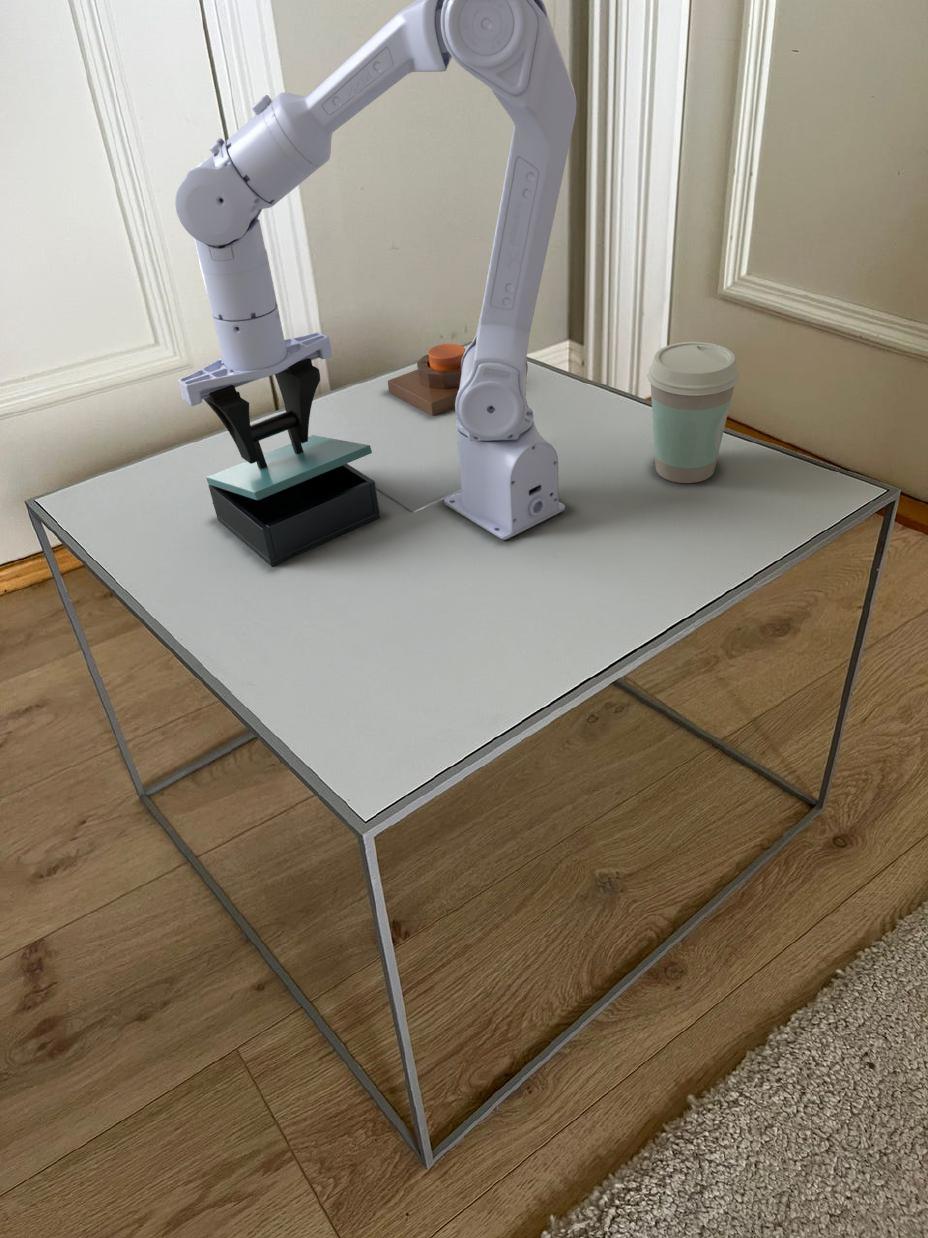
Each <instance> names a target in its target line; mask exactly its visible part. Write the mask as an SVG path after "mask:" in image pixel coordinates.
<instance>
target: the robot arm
mask: <svg viewBox="0 0 928 1238" xmlns="http://www.w3.org/2000/svg"><path fill="white" fill-rule="evenodd" d="M452 59H453V60H454V62H456V63H457V64H458V65H459V66H460V67H461V68H462V69H463V70H465V71H466V72H467V73H469V74H470V75H471V76H473V77H474V78H475V79H477V80H479V82H481V83H483V84H484V85H485V86H487V87H488V88H489V89H490V90H491V92H492V93H493V95H494V96H495V98H496V99H497V102H499V104H500V105H501V107H502V108H503V109H504V111H505V113H506V114H507V115H508V116H509V118H510V119H511V121H512V122H513V127H512V132H511V138H510V144H509V150H508V156H507V161H506V167H505V173H504V178H503V184H502V190H501V196H500V202H499V208H498V213H497V218H496V223H495V230H494V236H493V241H492V246H491V253H490V259H489V264H488V270H487V275H486V282H485V287H484V292H483V298H482V303H481V310H480V313H479V318H478V324H477V329H476V333H475V335H474V338H473V340H472V341H471V343H469V345H468V347H467V348H465V352H464V354H463V357H462V361H461V380H460V387H459V391H458V394H457V397H456V402H455V407H454V410H455V411H454V412H455V415H456V418H455V425H456V427H455V429H456V439H457V452H458V453H457V454H458V463H459V464H458V465H459V475H460V476H459V477H460V489H461V491H458V492H456V493H454V494H452V495H450V496H447V497H445V498H444V502H443V503H444V505H445V506H447V507H448V508H450V509H452V510H454V511H455V512H456V513H458V514H459V515H462V516H463V517H465V518H467V519H468V520H470V521H471V522H473V523H474V524H476V525H478V526H480V528H483V529H484V530H485V531H487V532H489V533H491V534H492V535H494V536H495V537H497V538H498V539H500V540H503V541H504V540H505V541H506V540H509V539H511V538H513V537H514V536H517V535H518V534H521V533H523V532H525V531H526V530H528V529H530V528H532V527H534V526H537V525H539V524H540V523H542V522H544V521H546V520H548V519H550V518H552V517H555V516H556V515H559V513H560V514H561V513H562V512H564V511H565V510H566V504H564V503H562V502H560V500H559V456H558V453H557V450H556V449H555V447H554V446H553V445H552V444H551V443H550V442H548V441H547V440H546V439H545V438H544V437H543V436H542V434H540V432H539V430H538V429H537V427H536V424H535V420H534V411H533V409H532V408H530V407H529V404H528V400H527V377H528V376H527V375H528V369H529V364H528V350H529V343H530V335H531V334H530V333H531V330H532V329H531V328H532V324H533V319H534V314H535V311H536V306H537V300H538V295H539V292H540V288H541V287H540V286H541V282H542V277H543V272H544V267H545V264H546V263H545V262H546V258H547V253H548V249H549V243H550V239H551V235H552V229H553V225H554V220H555V215H556V212H557V211H556V210H557V207H558V206H557V205H558V200H559V195H560V191H561V186H562V182H563V177H564V172H565V168H566V164H567V158H568V153H569V149H570V144H571V140H572V139H571V138H572V134H573V129H574V126H575V120H576V116H577V96H576V92H575V88H574V84H573V82H572V80H571V77H570V74H569V71H568V68H567V66H566V62H565V60H564V56H563V54H562V51H561V48H560V46H559V43H558V40H557V37H556V34H555V32H554V29H553V26H552V23H551V19H550V17H549V14H548V11H547V8H546V5H545V3H544V1H543V0H415V1H413V2H411V3H410V4H408V5H407V6H405V7H403V8H402V9H401V10H399V12H398V13H396V14H395V15H394V16H393V17H392V18H390V19H389V21H388V22H386V23H385V25H383V26H382V27H381V28H380V29H379V30H378V31H376V32H375V33H374V35H372V36H371V37H370V38H369V39H368V40H367V41H365V43H364V44H362V45H361V46H360V47H359V48H358V49H357V50H356V51H355V52H353V54H352V55H351V56H349V58H347V59H346V60H345V61H344V62H343V63H342V64H341V65H339V66H338V68H336V69H335V70H334V71H333V72H332V73H331V74H330V75H329V76H327V78H326V79H324V81H323V82H321V83H320V84H319V85H318V86H317V87H316V88H314V90H312V92H310V93H309V94H307V95H301V94H295V93H291V92H280V93H278V95H276V96H275V97H274V98H273V99H272V98H271V97H270V96H269V95H268V94H265V95H264V96H263V97H261V98H260V99H259V100H258V101H256V103H254V105H252V107H251V109H252V111H253V113H254V114H255V115H254V116H253V117H252V118H250V119H249V120H248V121H247V122H246V123H245V124H243V125H242V127H240V128H239V129H238V130H237V131H236V132H235V133H233V134H232V135H231V136H230V137H229V138H228V139H227V140H224V139H223V138H221V137H219V138H218V139H217V140H216V141H215V142H213V144H211V145H210V146H209V151H210V153H211V154H212V155H211V156H208V157H207V158H205V159H204V160H203V161H201V162H200V163H199V164H198V165H197V166H196V167H194V168H192V169H189V170H188V171H187V172H186V175H185V177H184V178H183V179H182V181H181V182H180V184H179V185H178V188H177V191H176V194H175V201H174V204H175V205H174V206H175V211H176V215H177V217H178V220H179V222H180V223H181V225H182V227H183V228H184V230H185V231H186V232H187V233H188V234H189V235H190V236H191V237H192V238H193V240H194V245H195V249H196V253H197V256H198V264H199V268H200V271H201V275H202V280H203V284H204V288H205V292H206V296H207V301H208V306H209V309H210V312H211V317H212V321H213V325H214V329H215V333H216V338H217V341H218V345H219V350H220V354H221V358H219V359H217V360H215V361H213V362H212V363H209V364H208V365H206V366H204V367H202V368H200V369H198V370H197V371H195V372H193V373H191V374H189V375H186V376H183V377H181V378H178V379H177V384H178V388H179V391H180V395H181V399H182V401H184V402H185V403H186V404H188V405H189V406H191V407H194V406H197V405H200V404H202V403H203V401H204V402H205V403H206V404H207V405H208V407H210V409H212V411H213V412H214V414H216V416H217V417H218V419H219V420H220V421H221V422H222V424H223V425H224V427H225V428H226V430H227V432H228V433H229V435H230V437H231V438H232V440H233V442H234V444H235V446H236V448H237V450H238V452H239V455H240V457H241V459H243V460H245V462H246V461H247V462H249V463H250V464H253V463H255V462H258V461H257V452H256V448H255V445H254V441H253V437H252V433H251V427H250V425H251V419H250V402H248V401H247V400H245V399H244V398H242V397H241V393H240V391H237V389H236V388H239V387H241V386H244V385H247V384H249V383H253V382H255V381H258V380H261V379H265V378H268V377H272V376H274V378H275V380H276V382H277V385H278V388H279V391H280V394H281V397H282V401H283V404H284V409H285V412H287V411H292V412H293V413H294V414H295V416H296V418H297V422H298V424H297V426H296V429H297V432H298V435H299V439H300V442H301V443H302V444H303V443H305V442H308V437H309V427H310V417H311V410H312V405H313V402H314V398H315V394H316V391H317V389H318V386H319V384H320V381H321V373H320V369H319V368H318V367H316V366H315V365H313V362H312V361H315V360H317V359H320V360H326V359H329V358H331V357H333V353H332V347H331V342H330V337H329V336H328V335H325V334H324V333H322V332H320V331H316V332H313V333H309V334H307V335H306V334H305V335H302V336H296V337H292V338H286V339H285V337H284V331H283V327H282V321H281V315H280V310H279V305H278V302H277V297H276V296H277V295H276V291H275V287H274V286H275V285H274V282H273V277H272V272H271V265H270V262H269V261H270V260H269V255H268V252H267V249H266V245H265V241H264V236H263V231H262V225H261V220H260V219H259V217H260V215H261V213H262V211H263V210H264V209H265V210H266V209H270V208H272V207H274V206H275V205H276V204H277V203H279V202H280V201H281V200H283V198H285V197H286V196H287V195H288V194H290V193H291V192H292V191H293V190H294V189H295V188H297V187H298V186H299V185H301V184H302V183H303V182H304V181H306V180H307V179H308V178H309V177H310V176H311V175H313V174H314V173H315V172H316V171H318V170H319V169H320V168H321V167H323V166H324V165H325V164H326V163H327V162H329V160H330V158H331V152H332V137H333V133H335V132H336V131H337V130H338V129H339V128H341V127H342V126H344V125H345V124H346V123H347V122H349V121H350V120H351V119H352V118H353V117H355V116H356V115H358V114H359V113H360V112H361V111H363V110H364V109H365V108H366V107H368V106H369V105H370V104H372V103H373V102H374V101H376V100H377V99H378V98H379V97H380V96H382V95H383V94H384V93H386V92H387V91H388V90H389V89H391V88H392V87H393V86H394V85H396V84H397V83H399V82H400V81H401V80H402V79H404V78H405V77H406V76H407V75H409V74H411V73H443V72H446V71H447V69H448V67H449V65H450V63H451V60H452Z"/></svg>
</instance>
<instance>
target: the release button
mask: <svg viewBox="0 0 928 1238" xmlns="http://www.w3.org/2000/svg"><path fill="white" fill-rule="evenodd" d="M465 351H466V348H465V347H464V346H463V345H462V344H461V345H460V344H456V343H444V344H438V345H436V346H433V347H432V348H430V349H429V350H428V354H429V363H430V368H432V369H434V370H441V371H448V370H456V369H459V368H461V361H462V357H463V354H464V352H465Z"/></svg>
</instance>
